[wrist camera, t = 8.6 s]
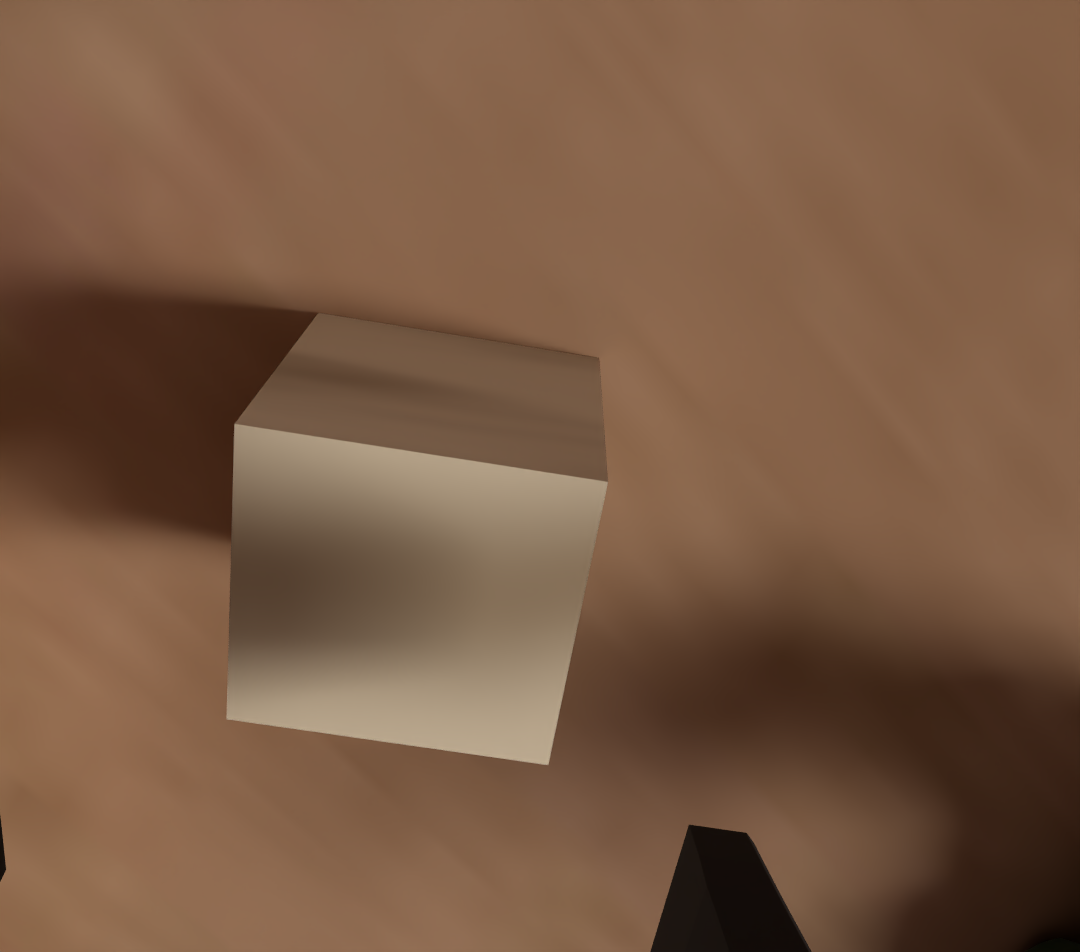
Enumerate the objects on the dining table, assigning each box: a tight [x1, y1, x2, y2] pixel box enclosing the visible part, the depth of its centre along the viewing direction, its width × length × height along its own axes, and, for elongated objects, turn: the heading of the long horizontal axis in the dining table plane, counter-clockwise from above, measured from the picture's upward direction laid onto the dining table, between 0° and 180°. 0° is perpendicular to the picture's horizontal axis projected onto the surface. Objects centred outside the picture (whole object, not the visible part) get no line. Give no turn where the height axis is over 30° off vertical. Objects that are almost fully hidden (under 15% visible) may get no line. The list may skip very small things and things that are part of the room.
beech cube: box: [227, 313, 608, 765], centre depth 17 cm, size 5×5×5 cm
